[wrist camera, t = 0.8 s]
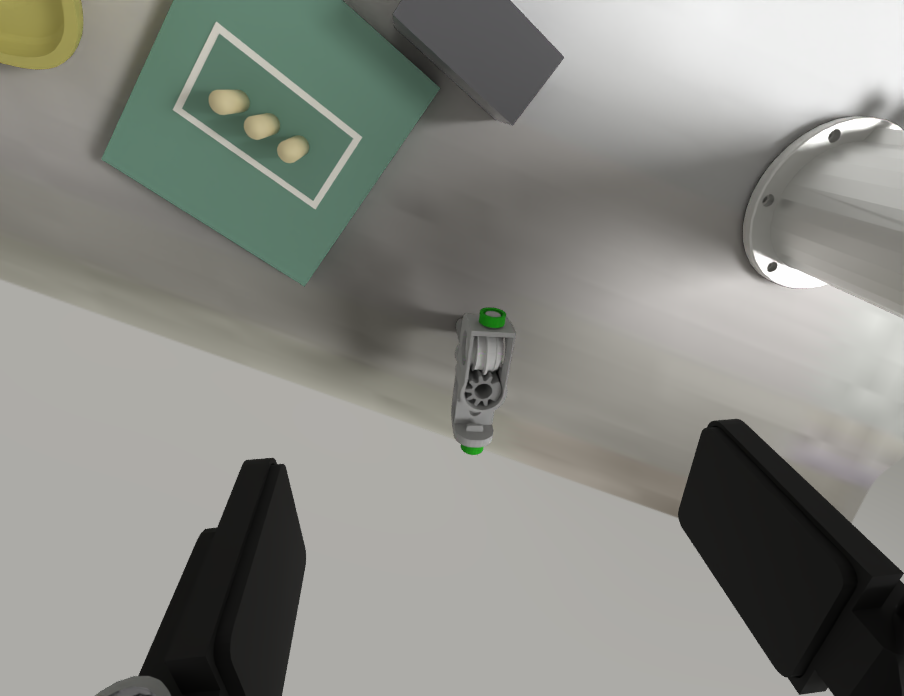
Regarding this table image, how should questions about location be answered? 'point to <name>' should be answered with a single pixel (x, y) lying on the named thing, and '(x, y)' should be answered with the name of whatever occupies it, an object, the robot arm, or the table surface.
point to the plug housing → (482, 50)
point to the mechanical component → (480, 376)
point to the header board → (268, 121)
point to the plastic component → (39, 32)
